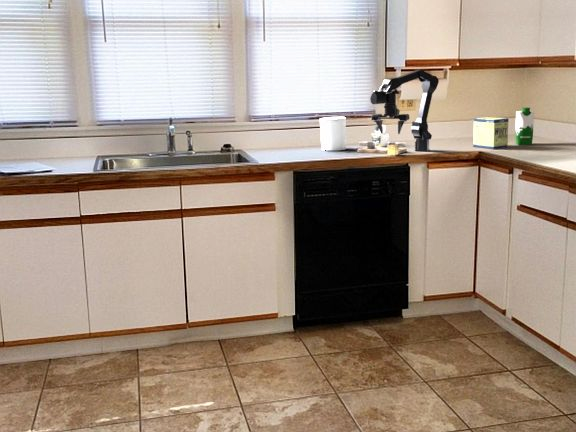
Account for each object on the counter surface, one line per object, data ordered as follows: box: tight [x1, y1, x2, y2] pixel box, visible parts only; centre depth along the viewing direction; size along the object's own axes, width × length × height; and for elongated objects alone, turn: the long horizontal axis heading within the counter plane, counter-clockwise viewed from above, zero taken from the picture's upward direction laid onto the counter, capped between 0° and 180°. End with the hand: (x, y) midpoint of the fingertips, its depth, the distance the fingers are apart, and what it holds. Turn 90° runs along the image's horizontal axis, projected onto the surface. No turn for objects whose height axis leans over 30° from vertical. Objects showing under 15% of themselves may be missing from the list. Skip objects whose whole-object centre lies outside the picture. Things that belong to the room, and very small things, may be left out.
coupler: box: [387, 145, 400, 157], centre depth 352 cm, size 4×5×5 cm
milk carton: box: [514, 107, 535, 146], centre depth 371 cm, size 9×9×20 cm
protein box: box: [472, 116, 509, 150], centre depth 365 cm, size 10×16×16 cm
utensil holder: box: [319, 116, 347, 152], centre depth 382 cm, size 15×15×18 cm
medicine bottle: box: [371, 124, 390, 148], centre depth 389 cm, size 7×7×12 cm
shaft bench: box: [356, 140, 408, 155], centre depth 364 cm, size 26×10×5 cm, turn 59°
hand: (390, 134), depth 353 cm, fingers open, 9 cm apart
